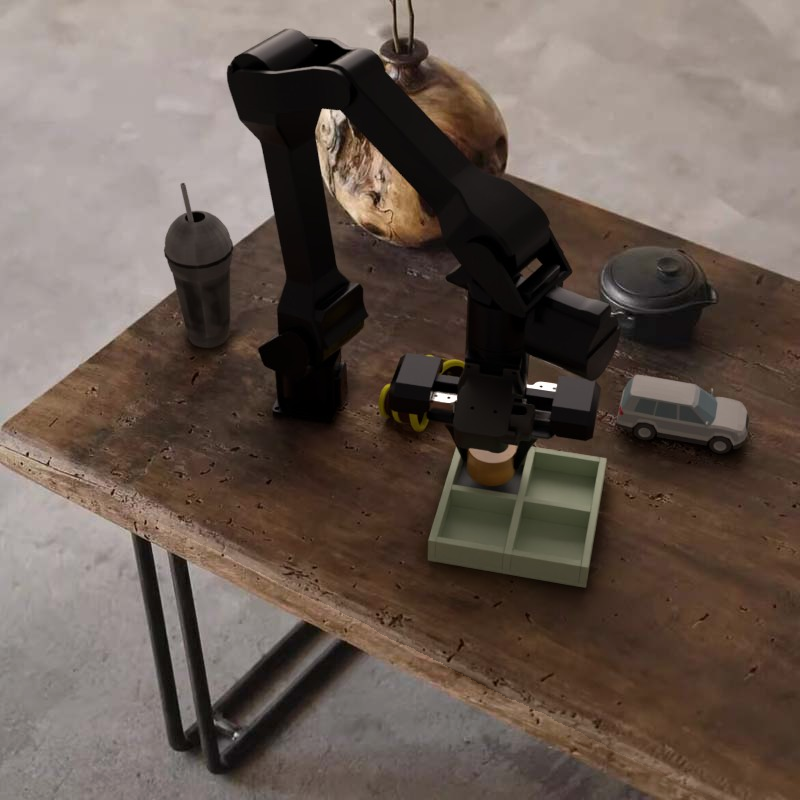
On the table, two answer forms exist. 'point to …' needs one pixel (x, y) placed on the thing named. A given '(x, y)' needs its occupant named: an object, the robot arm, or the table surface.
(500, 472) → the cylinder
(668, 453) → the table surface
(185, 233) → the beverage cup
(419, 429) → the opera glasses
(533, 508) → the grid
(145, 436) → the table surface
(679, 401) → the toy car
